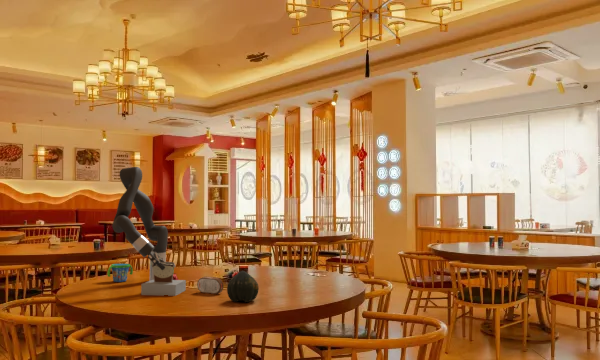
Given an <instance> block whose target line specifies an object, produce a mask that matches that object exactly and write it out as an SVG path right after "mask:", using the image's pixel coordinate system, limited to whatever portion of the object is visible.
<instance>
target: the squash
mask: <svg viewBox="0 0 600 360" xmlns="http://www.w3.org/2000/svg"><path fill="white" fill-rule="evenodd" d="M259 288H260V287H259V284H258V281H257V280H256V279H255V278H254V277H253V276H252V275H250V273H248V272H247V271H244V270H240V271H239V272H237V274H235V275H233V277H232V278H231V279H230V280H229V282H228V284H227V287H226V293H227V296H228V298H229V299H230V300H231V301H232V302H234V303H235V302H236V303H237V302H239V301H243V302H244V303H246V302H247V303H250V302H252V301H254V300H255V299H256V298H257V296H258V294H259V290H260V289H259Z"/></svg>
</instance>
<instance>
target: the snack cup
mask: <svg viewBox="0 0 600 360" xmlns="http://www.w3.org/2000/svg"><path fill="white" fill-rule="evenodd" d="M111 271H112V273H111ZM133 272H134V270H133V266H132V265H131V264H130V263H112V264H110V266H109V267H108V269H107V277H108V278H110V277H111V274H112V280H113V282H114V283H122V282H127V280H128V276H129V275H130V276H131V275H133Z"/></svg>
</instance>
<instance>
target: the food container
mask: <svg viewBox="0 0 600 360" xmlns="http://www.w3.org/2000/svg"><path fill="white" fill-rule="evenodd" d="M160 263H162V264H163V265H164V266H165V269H164V270H161V269H160V268H159V267H158V266H157V265H154V263H153V264H152V267H153V274H154V282H160V283H172V281H173V272H175V271H174V270H175V268H176V264H175V262H173V261H166V262H160Z"/></svg>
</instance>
